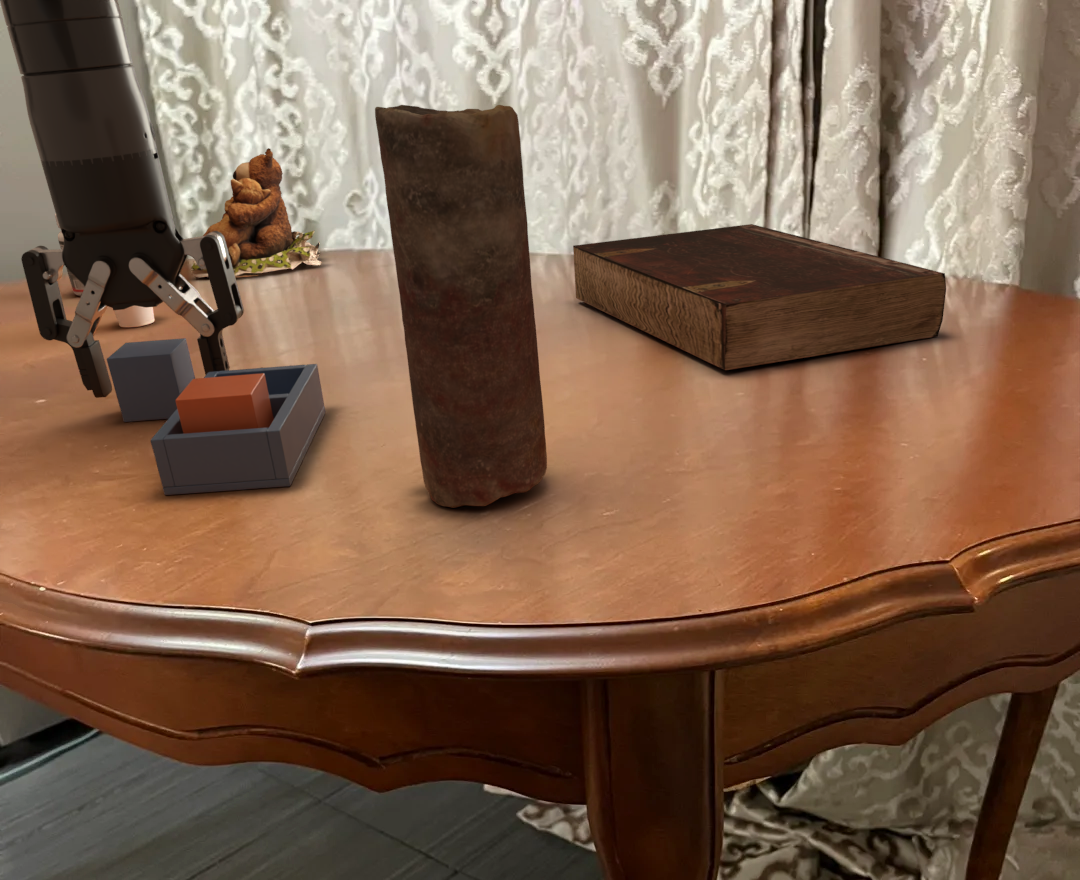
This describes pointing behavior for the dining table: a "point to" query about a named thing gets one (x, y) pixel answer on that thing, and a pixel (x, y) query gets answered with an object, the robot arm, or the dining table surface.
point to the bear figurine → (260, 223)
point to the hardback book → (758, 294)
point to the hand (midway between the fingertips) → (160, 390)
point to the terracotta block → (225, 404)
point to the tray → (245, 439)
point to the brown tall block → (465, 298)
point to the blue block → (150, 377)
